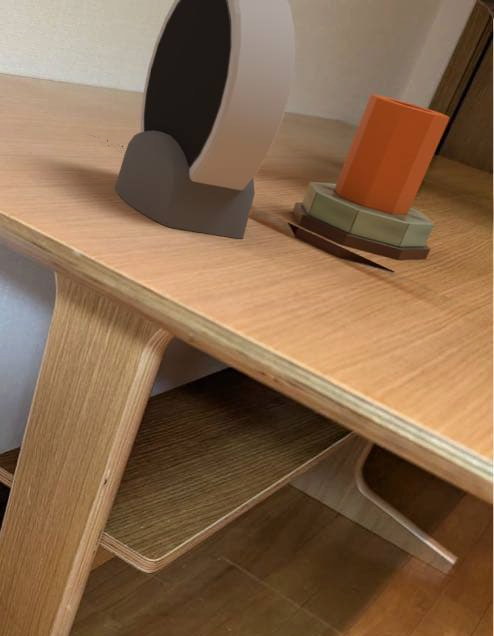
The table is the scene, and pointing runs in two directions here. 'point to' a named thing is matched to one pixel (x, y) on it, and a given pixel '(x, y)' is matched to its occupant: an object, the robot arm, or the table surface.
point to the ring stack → (359, 227)
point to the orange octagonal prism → (390, 154)
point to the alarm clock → (210, 113)
